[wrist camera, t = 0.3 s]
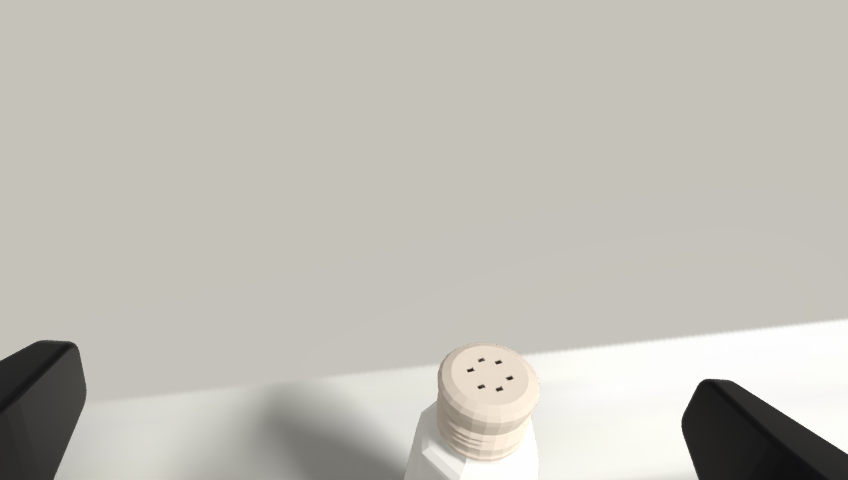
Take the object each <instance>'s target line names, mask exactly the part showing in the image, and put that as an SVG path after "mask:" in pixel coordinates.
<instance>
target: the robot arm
mask: <svg viewBox="0 0 848 480" xmlns="http://www.w3.org/2000/svg"><path fill="white" fill-rule="evenodd" d="M85 399H86V383H85V378H84V373H83V368H82V363H81V359H80V353H79V350H78V347H77V346H76V345H75V344H74V343H72V342H69V341H53V340H42V341H38V342H35V343H33V344H31V345H29V346H28V347H26V348H24V349H22V350H20V351H18V352H16V353H14V354H12V355H11V356H9V357H7V358H5V359H3V360H1V361H0V480H54V477H55V475H56V472H57V470H58V467H59V465H60V463H61V460H62V458H63V455H64V453H65V450H66V448H67V446H68V443H69V441H70V438H71V436H72V433H73V431H74V429H75V426H76V424H77V421H78V419H79V416H80V414H81V412H82V409H83V407H84V404H85ZM682 432H683V436H684V439H685V441H686V444H687V447H688V450H689V453H690V456H691V459H692V462H693V465H694V468H695V470H696V473H697V476H698V479H699V480H848V454H846V453H845V452H843V451H842V450H840V449H839V448H837V447H835V446H834V445H832V444H831V443H829V442H827V441H826V440H824V439H823V438H821V437H820V436H818V435H816V434H815V433H813V432H812V431H810V430H809V429H807V428H805V427H804V426H802V425H801V424H799V423H798V422H796V421H794V420H793V419H791V418H790V417H788V416H787V415H785V414H783V413H782V412H780V411H779V410H777V409H775V408H774V407H772V406H771V405H769V404H768V403H766V402H764V401H763V400H761V399H760V398H758V397H757V396H755V395H753V394H752V393H750V392H749V391H747V390H746V389H744V388H742V387H741V386H739V385H738V384H736V383H734V382H732V381H729V380H720V379H705V380H703V381H702V382H700V383H699V385H698V386H697V388H696V390H695V392H694V394H693V396H692V398H691V400H690V402H689V404H688V406H687V408H686V410H685V412H684V414H683V417H682Z"/></svg>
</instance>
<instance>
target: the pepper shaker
mask: <svg viewBox="0 0 848 480" xmlns="http://www.w3.org/2000/svg"><path fill="white" fill-rule="evenodd" d="M438 390H439V392H438V398H437V401H436V402H435V403H433V404H432V405H431V406H429V407H428V408H427V409H426V410H424V411H423V412H422V413H421V416H420V419H419V422H418V425H417V428H416V432H415V436H414V440H413V444H412V448H411V452H410V456H409V460H408V464H407V468H406V472H405V476H404V480H537V476H538V452H537V447H536V442H535V437H534V432H533V427H532V421H531V414H532V412H533V410H534V408H535V406H536V404H537V402H538V399H539V393H540V385H539V380H538V377H537V375H536V373H535V371H534V370H533V368H532V367H531V365H530V364H529V363H528V362H527V361H526V360H525V359H524V358H523V357H522V356H520V355H519V354H517V353H516V352H514V351H513V350H511V349H508V348H506V347H504V346H500V345H496V344H492V343H474V344H467V345H465V346H462V347H460V348H457V349H455V350H454V351H453V352H451V353H450V354H448V355H447V356H446V358H445V359H444V360H443V361H442V363H441V365H440V368H439V371H438Z"/></svg>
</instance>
